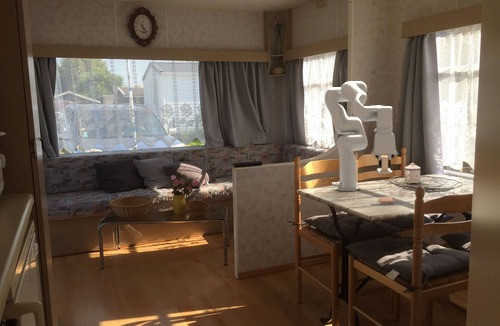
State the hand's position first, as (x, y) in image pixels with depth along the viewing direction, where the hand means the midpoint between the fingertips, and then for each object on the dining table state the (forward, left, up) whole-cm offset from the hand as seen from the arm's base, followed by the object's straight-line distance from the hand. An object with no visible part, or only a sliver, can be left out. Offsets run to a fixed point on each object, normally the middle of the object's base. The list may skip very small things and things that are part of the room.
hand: (384, 167), depth 217 cm
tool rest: (+10, +10, -17) cm, 22 cm away
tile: (0, -2, -16) cm, 16 cm away
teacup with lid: (+22, +43, -17) cm, 51 cm away
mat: (0, -5, -17) cm, 18 cm away
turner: (0, 0, -2) cm, 2 cm away
